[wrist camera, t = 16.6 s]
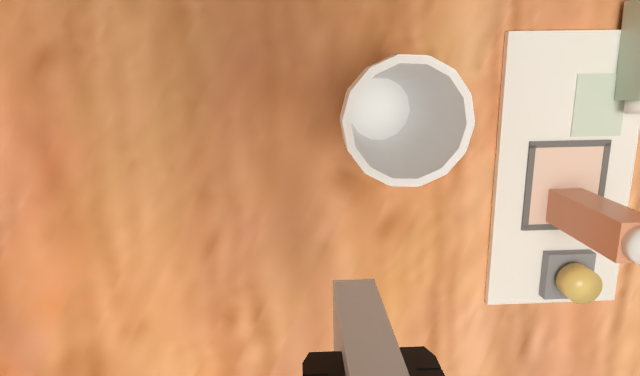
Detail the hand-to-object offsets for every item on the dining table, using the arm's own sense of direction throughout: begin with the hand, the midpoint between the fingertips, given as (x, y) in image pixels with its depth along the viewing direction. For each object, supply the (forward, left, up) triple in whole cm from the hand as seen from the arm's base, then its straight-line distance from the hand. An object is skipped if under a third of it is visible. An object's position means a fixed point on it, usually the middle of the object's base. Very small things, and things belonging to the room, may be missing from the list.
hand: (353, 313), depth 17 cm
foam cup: (-5, +6, -31) cm, 32 cm away
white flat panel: (+2, +25, -30) cm, 39 cm away
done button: (+13, +26, -28) cm, 40 cm away
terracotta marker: (+5, +25, -29) cm, 39 cm away
